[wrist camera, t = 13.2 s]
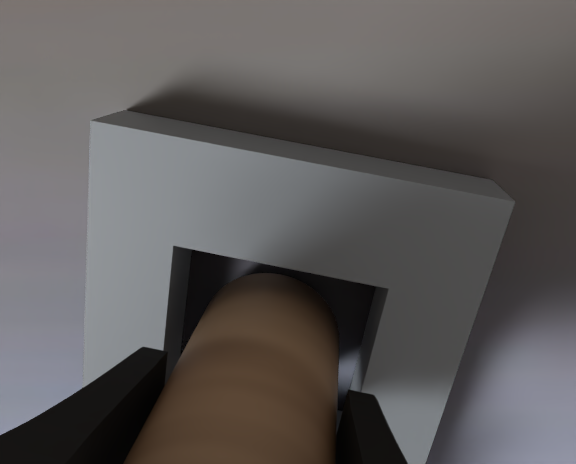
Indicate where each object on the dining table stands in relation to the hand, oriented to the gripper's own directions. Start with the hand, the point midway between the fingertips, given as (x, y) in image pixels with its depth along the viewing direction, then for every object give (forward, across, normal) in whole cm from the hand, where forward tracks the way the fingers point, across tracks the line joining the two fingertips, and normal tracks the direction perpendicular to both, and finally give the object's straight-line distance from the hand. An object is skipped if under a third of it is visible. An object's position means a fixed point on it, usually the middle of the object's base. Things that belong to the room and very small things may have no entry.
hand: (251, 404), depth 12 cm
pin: (+3, 0, 0) cm, 3 cm away
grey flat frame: (+4, 0, +4) cm, 5 cm away
